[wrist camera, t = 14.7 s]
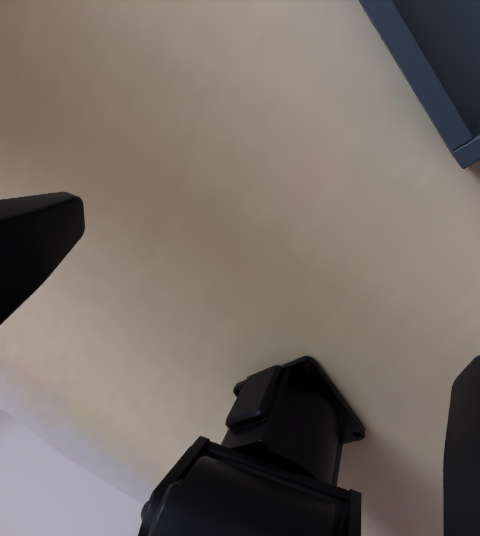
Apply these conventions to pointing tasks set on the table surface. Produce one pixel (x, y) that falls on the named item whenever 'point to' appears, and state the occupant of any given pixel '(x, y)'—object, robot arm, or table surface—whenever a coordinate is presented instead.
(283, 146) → the table surface
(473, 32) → the tray
